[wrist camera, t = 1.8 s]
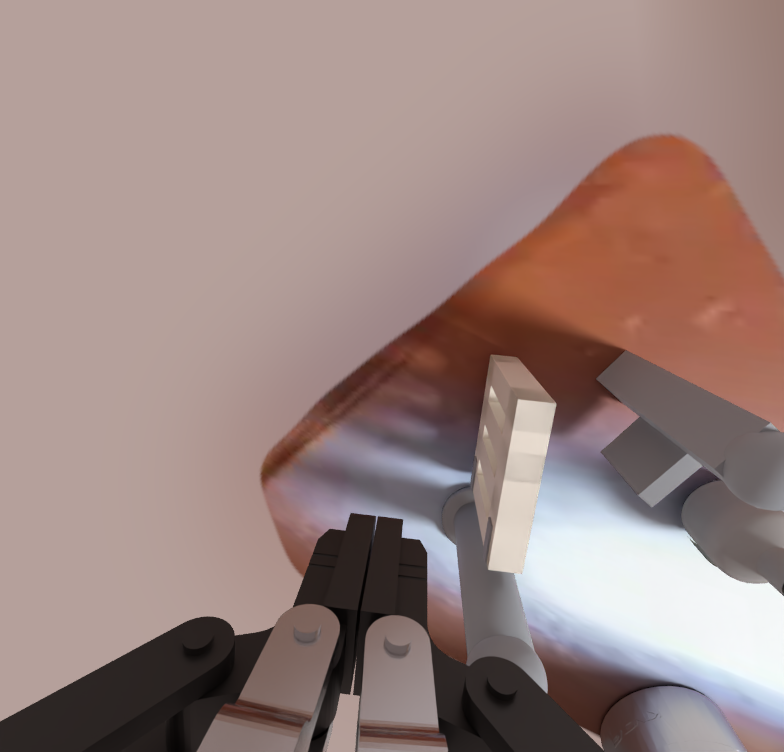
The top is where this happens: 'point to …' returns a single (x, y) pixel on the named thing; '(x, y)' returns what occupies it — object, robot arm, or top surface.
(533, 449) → the gate
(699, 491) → the reed diffuser
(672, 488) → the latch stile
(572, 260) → the top surface
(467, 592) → the hinge post
